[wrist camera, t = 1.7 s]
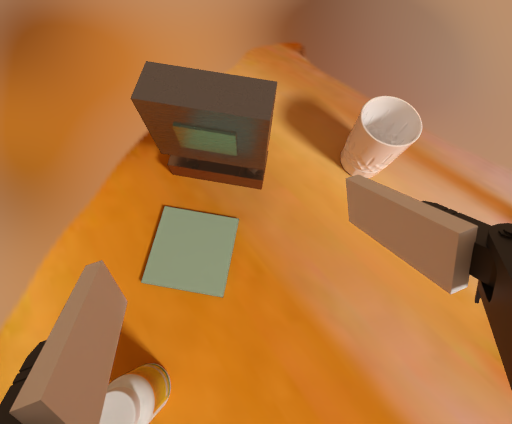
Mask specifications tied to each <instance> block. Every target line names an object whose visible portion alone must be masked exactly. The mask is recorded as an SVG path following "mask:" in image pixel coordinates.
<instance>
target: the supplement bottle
mask: <svg viewBox="0 0 512 424" xmlns="http://www.w3.org/2000/svg"><path fill="white" fill-rule="evenodd" d="M170 390H171V383H170V377H169V375H168V373H167V371H166V370H165V369H164V368H163V367H162V366H160V365H158V364H155V363H149V364H144V365H142V366H139V367H138V368H136V369H134V370H132V371H130V372H128V373H126V374H124V375H122V376H120V377H118V378H117V379H115V380H114V381H112V382H111V383H110V384H109V385H108V388H107V393H106V397H105V401H104V406H103V410H102V414H101V419H100V423H99V424H149V423H150V422H151V420H152V419H153V418H154V417H155V416H156V415H157V413H158V412H159V411H160V410H161V409H162V408H163V406H164V405H165V404H166V402H167V400H168V398H169V395H170Z"/></svg>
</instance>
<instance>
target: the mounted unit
mask: <svg viewBox="0 0 512 424" xmlns="http://www.w3.org/2000/svg"><path fill="white" fill-rule="evenodd" d="M276 88H277V82H275V81H269V80H262V79H256V78H250V77H243V76H237V75H230V74H224V73H218V72H211V71H204V70H199V69H192V68H186V67H180V66H173V65H167V64H160V63H154V62H148V61H146V63H145V65H144V68H143V71H142V73H141V75H140V77H139V80H138V82H137V84H136V87H135V89H134V92H133V94H132V96H131V100H132V101H133V103H134V105H135V107H136V109H137V111H138V112H139V114H140V116H141V118H142V120H143V121H144V123H145V125H146V127H147V129H148V130H149V132H150V134H151V136H152V138H153V140H154V141H155V143H156V145H157V147H158V149H159V150H160V152H161V153H162V154H168V155H170V158H169V161H168V164H167V165H168V167H169V169H170V170H171V172H172V174H173V175H179V176H185V177H191V178H196V179H202V180H208V181H214V182H220V183H226V184H232V185H238V186H244V187H250V188H256V189H262V184H263V179H264V173H265V168H266V162H267V155H268V145H269V140H270V132H271V125H272V118H273V110H274V103H275V95H276Z"/></svg>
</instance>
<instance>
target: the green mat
mask: <svg viewBox="0 0 512 424" xmlns="http://www.w3.org/2000/svg"><path fill="white" fill-rule="evenodd" d="M238 222H239V219H237V218H231V217H225V216H219V215H213V214H208V213H202V212H196V211H190V210H184V209H179V208H173V207H167V206H165V207H164V210H163V213H162V217H161V220H160V223H159V226H158V230H157V233H156V236H155V239H154V242H153V246H152V249H151V252H150V255H149V259H148V262H147V265H146V268H145V271H144V275H143V278H142V281H141V283H146V284H152V285H157V286H163V287H168V288H174V289H179V290H185V291H190V292H196V293H202V294H207V295H213V296H218V297H223V296H224V291H225V286H226V281H227V276H228V271H229V266H230V261H231V256H232V251H233V247H234V242H235V237H236V232H237V227H238Z"/></svg>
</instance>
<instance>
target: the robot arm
mask: <svg viewBox="0 0 512 424" xmlns="http://www.w3.org/2000/svg"><path fill="white" fill-rule="evenodd" d="M346 187H347V200H348V212H349V221H350V222H351V223H352V224H354V225H355V226H357V227H358V228H359V229H361V230H362V231H364V232H365V233H366V234H368V235H369V236H371V237H372V238H373V239H375V240H376V241H377V242H379V243H380V244H382V245H383V246H384V247H386V248H387V249H389V250H390V251H391V252H393V253H394V254H395V255H397V256H398V257H400V258H401V259H402V260H404V261H405V262H407V263H408V264H409V265H411V266H412V267H414V268H415V269H416V270H418V271H419V272H420V273H422V274H423V275H425V276H426V277H427V278H429V279H430V280H432V281H433V282H434V283H436V284H437V285H438V286H440V287H441V288H443V289H444V290H445V291H447V292H448V293H450V294H453V293H455V292H457V291H459V290H462V289H464V288H466V287H467V286H468V281H469V275H472V276H473V277H475V278H477V279H478V280H479V281H478V286H477V291H476V296H475V303H479V299H480V298H481V299H482V302H483V305H484V308H485V311H486V314H487V317H488V320H489V323H490V326H491V329H492V332H493V335H494V338H495V341H496V344H497V347H498V350H499V353H500V356H501V359H502V362H503V365H504V368H505V372H506V375H507V378H508V381H509V384H510V387H511V390H512V224H510V223H504V224H496V225H493V226H490V225H488V224H486V223H483V222H481V221H478V220H476V219H473V218H471V217H469V216H466V215H464V214H461V213H457V212H456V211H454V210H452V209H448V208H447V207H444V206H442V205H439V204H437V203H432V202H427V201H419V200H416V199H414V198H412V197H409V196H407V195H405V194H403V193H400V192H398V191H396V190H393V189H391V188H389V187H386V186H384V185H382V184H379V183H377V182H375V181H372V180H370V179H368V178H365V177H363V176H361V175H355V176H352V177H349V178H346ZM126 306H127V300H126V298H125V297H124V295H123V293H122V292H121V290H120V289H119V287H118V285H117V284H116V282H115V280H114V279H113V277H112V275H111V274H110V272H109V270H108V269H107V267H106V266H105V264H104V262H103V261H99V262H96V263H93V264H90V265H87V266H85V268H84V270H83V272H82V274H81V276H80V278H79V280H78V282H77V283H76V285H75V287H74V289H73V291H72V293H71V295H70V297H69V299H68V301H67V303H66V304H65V306H64V308H63V310H62V312H61V314H60V316H59V318H58V320H57V322H56V324H55V325H54V327H53V329H52V331H51V333H50V335H49V337H48V339H47V340H45V341H43V342H40V343H39V344H38V345H37V346H36V348H35V349H34V350H33V351H32V352H31V353H30V354H29V355H28V356H27V358H26V360H25V362H24V363H23V365H22V367H21V369H20V370H19V371H20V373H18V374H17V376H16V378H15V379H14V381H13V385H12V386H10V388H9V390H8V392H7V393H6V395H5V397H4V399H3V401H2V402H1V404H0V424H99V423H100V419H101V414H102V410H103V406H104V401H105V397H106V393H107V388H108V384H109V380H110V375H111V371H112V367H113V362H114V358H115V354H116V349H117V345H118V341H119V336H120V332H121V328H122V323H123V319H124V314H125V310H126Z"/></svg>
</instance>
